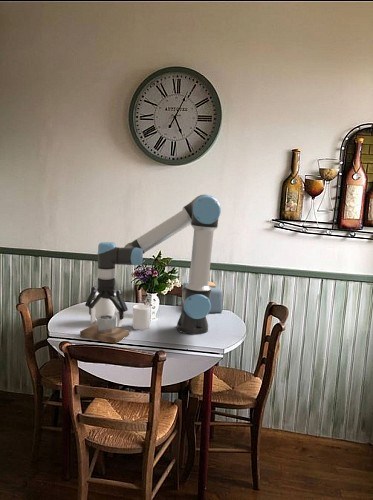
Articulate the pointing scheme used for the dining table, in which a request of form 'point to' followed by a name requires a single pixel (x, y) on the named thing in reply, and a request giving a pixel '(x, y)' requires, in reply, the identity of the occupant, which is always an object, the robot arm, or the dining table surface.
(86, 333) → the post block
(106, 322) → the hub
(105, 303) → the jar
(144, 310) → the cup
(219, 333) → the dining table surface
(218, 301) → the toaster
